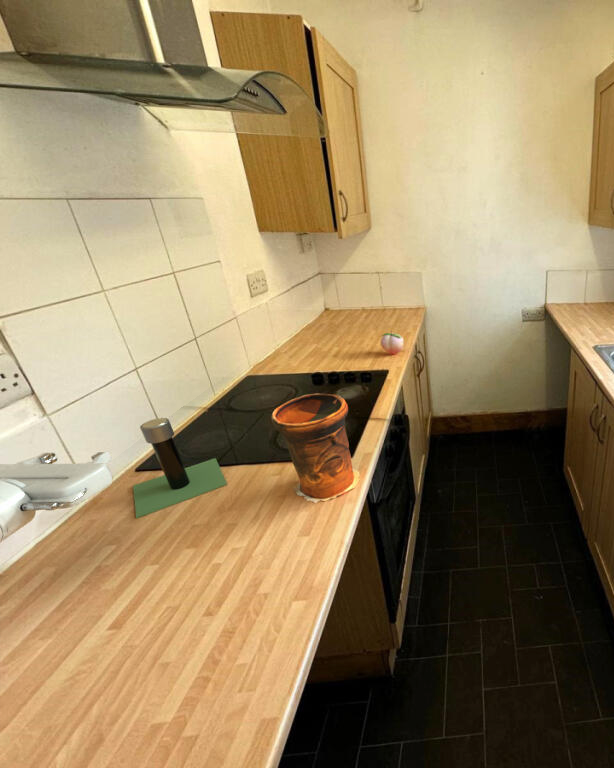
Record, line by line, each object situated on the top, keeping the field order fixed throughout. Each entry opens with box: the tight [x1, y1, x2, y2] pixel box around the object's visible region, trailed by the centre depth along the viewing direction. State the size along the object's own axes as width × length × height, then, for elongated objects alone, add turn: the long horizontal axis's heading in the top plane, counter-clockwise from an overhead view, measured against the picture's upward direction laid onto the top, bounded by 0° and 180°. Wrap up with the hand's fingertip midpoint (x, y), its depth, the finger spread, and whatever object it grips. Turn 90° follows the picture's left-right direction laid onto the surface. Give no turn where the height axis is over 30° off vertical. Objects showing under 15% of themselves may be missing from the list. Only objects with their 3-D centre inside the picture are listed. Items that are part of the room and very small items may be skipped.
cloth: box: [132, 457, 228, 519], centre depth 94 cm, size 16×14×1 cm
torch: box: [139, 417, 190, 490], centre depth 91 cm, size 5×5×16 cm
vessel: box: [270, 392, 361, 504], centre depth 90 cm, size 14×14×20 cm
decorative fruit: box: [380, 332, 405, 355], centre depth 170 cm, size 9×8×10 cm
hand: (79, 455), depth 73 cm, fingers open, 8 cm apart
